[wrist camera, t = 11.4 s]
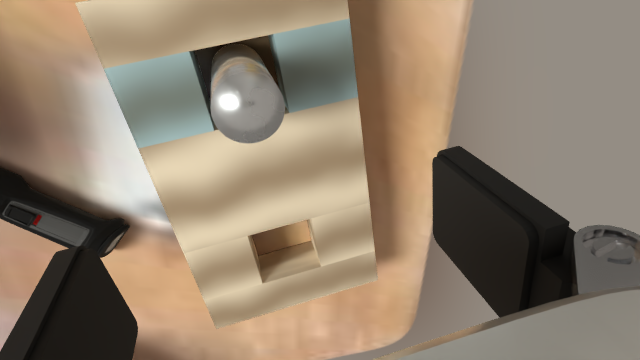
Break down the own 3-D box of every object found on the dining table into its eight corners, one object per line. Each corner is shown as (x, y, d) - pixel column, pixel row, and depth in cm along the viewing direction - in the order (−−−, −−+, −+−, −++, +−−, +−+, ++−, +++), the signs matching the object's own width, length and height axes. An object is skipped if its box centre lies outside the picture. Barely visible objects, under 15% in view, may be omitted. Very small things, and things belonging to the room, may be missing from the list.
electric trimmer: (-82, 118, 26) (-117, 134, 24) (134, 220, 33) (126, 241, 31) (-104, 159, 27) (-140, 179, 25) (111, 250, 34) (102, 274, 32)
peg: (204, 49, 28) (200, 81, 20) (257, 38, 29) (276, 64, 20) (219, 101, 30) (222, 150, 22) (269, 90, 31) (291, 134, 22)
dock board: (93, -1, 25) (75, 3, 22) (326, -43, 27) (342, -46, 24) (216, 298, 39) (216, 329, 36) (364, 254, 41) (378, 279, 38)
